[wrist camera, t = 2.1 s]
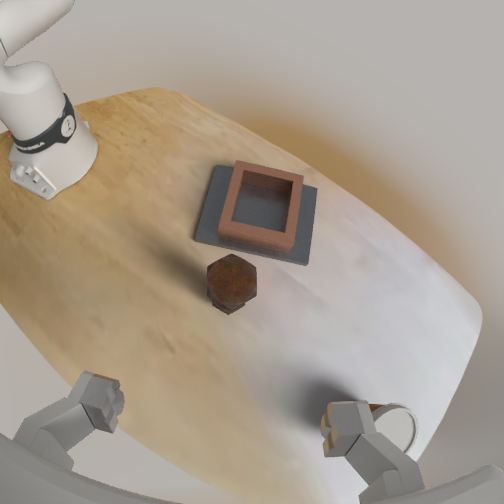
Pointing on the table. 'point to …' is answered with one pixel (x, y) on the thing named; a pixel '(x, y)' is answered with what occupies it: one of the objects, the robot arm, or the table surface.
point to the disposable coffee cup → (396, 424)
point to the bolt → (231, 283)
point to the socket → (259, 212)
